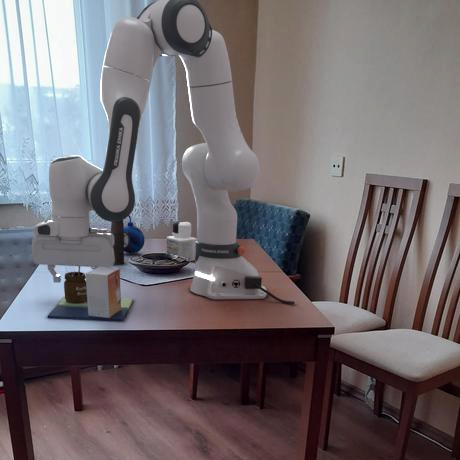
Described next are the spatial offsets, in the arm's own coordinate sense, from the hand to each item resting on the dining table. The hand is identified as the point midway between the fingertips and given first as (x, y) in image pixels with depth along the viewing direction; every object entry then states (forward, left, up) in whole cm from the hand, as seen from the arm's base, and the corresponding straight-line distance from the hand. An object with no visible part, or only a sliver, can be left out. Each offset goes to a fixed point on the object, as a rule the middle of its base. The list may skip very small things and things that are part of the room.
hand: (75, 282), depth 143 cm
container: (-24, -58, -5) cm, 63 cm away
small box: (-9, +10, -5) cm, 14 cm away
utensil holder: (0, 0, -5) cm, 5 cm away
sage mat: (-5, 0, -5) cm, 7 cm away
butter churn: (-3, -46, -6) cm, 46 cm away
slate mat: (-5, +10, -5) cm, 12 cm away
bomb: (-5, -64, -5) cm, 64 cm away
